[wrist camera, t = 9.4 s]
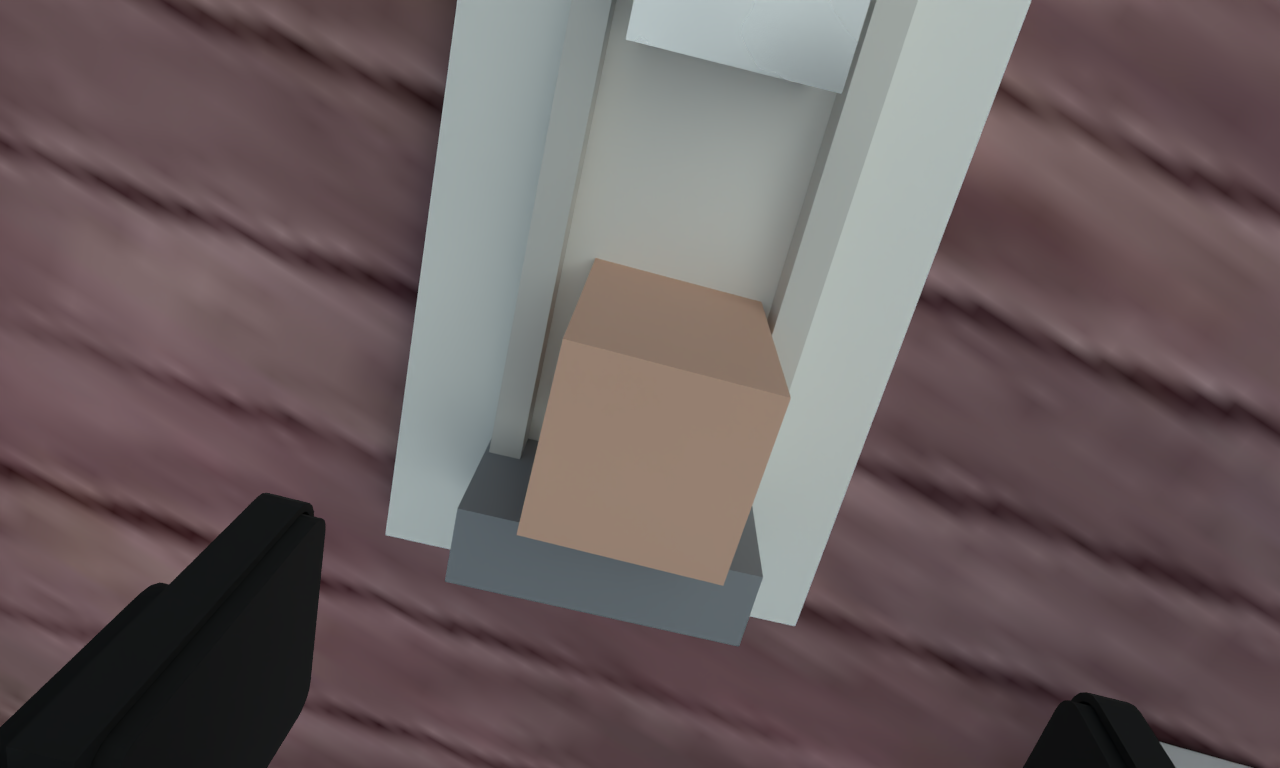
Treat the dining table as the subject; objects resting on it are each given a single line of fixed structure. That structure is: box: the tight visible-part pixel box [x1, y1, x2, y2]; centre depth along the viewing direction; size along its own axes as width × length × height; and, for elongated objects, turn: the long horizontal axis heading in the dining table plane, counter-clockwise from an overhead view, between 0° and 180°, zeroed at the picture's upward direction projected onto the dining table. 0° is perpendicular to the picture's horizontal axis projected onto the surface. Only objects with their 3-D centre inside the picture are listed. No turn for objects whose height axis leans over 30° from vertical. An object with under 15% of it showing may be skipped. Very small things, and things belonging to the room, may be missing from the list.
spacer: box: [517, 258, 791, 586], centre depth 18 cm, size 4×4×6 cm
